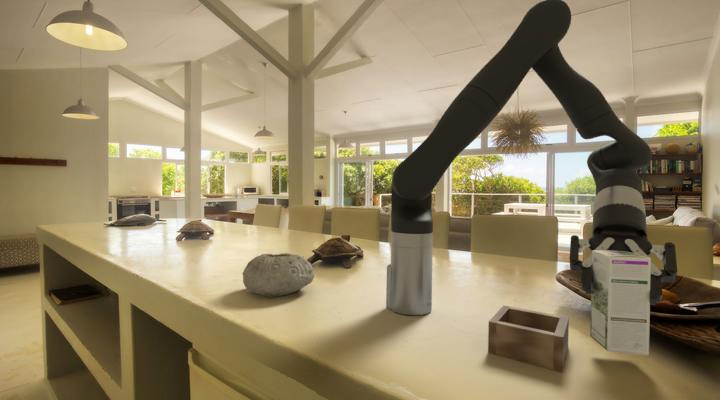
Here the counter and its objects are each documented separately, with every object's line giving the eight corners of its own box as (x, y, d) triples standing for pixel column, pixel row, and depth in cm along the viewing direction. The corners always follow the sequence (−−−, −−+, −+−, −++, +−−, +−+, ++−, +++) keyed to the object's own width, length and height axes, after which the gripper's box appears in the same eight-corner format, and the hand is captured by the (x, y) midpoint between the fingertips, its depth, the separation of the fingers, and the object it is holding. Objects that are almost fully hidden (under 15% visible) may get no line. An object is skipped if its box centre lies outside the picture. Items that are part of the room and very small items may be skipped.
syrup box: (650, 356, 49) (654, 256, 49) (605, 351, 51) (608, 254, 50) (628, 340, 55) (631, 250, 55) (587, 336, 56) (590, 248, 56)
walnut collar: (488, 352, 55) (488, 321, 55) (503, 332, 63) (503, 305, 63) (562, 372, 49) (563, 337, 49) (568, 346, 57) (568, 317, 57)
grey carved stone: (261, 282, 98) (261, 247, 98) (321, 285, 95) (321, 249, 95) (228, 300, 80) (229, 258, 80) (301, 305, 78) (302, 261, 77)
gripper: (570, 200, 63) (563, 274, 53) (675, 203, 55) (689, 291, 45) (571, 227, 67) (565, 300, 58) (669, 233, 59) (679, 319, 50)
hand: (619, 296), depth 51 cm, fingers closed on syrup box, 7 cm apart
